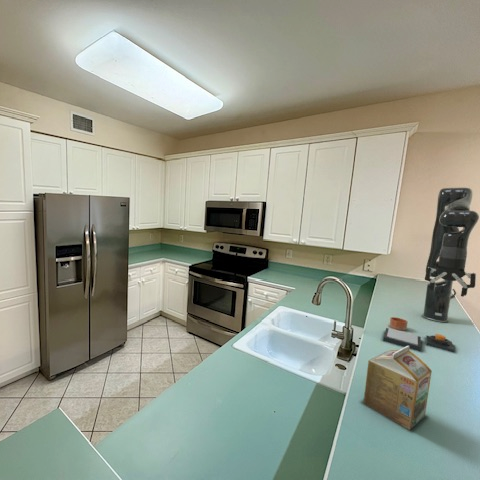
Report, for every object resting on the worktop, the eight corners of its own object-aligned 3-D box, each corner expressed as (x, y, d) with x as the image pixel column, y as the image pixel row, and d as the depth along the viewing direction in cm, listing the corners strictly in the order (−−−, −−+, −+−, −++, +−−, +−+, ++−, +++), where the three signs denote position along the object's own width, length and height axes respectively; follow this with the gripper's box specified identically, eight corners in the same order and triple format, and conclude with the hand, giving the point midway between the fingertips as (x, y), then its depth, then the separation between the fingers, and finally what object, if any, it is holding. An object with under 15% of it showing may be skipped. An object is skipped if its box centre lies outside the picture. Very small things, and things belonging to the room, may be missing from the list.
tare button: (434, 337, 115) (435, 333, 114) (444, 339, 112) (445, 335, 112) (435, 339, 113) (435, 335, 112) (445, 341, 110) (445, 338, 110)
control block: (426, 338, 119) (426, 332, 119) (451, 344, 113) (452, 338, 113) (426, 345, 112) (427, 339, 112) (453, 352, 106) (454, 346, 106)
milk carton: (409, 430, 67) (419, 364, 65) (363, 403, 76) (370, 344, 74) (424, 416, 72) (434, 354, 70) (379, 392, 81) (386, 337, 79)
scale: (385, 331, 125) (386, 326, 125) (420, 340, 116) (420, 335, 116) (383, 341, 115) (383, 335, 115) (420, 351, 107) (421, 346, 106)
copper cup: (389, 324, 134) (390, 316, 133) (406, 328, 129) (407, 320, 128) (388, 328, 129) (390, 319, 129) (406, 332, 125) (407, 323, 124)
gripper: (480, 259, 103) (473, 296, 105) (430, 253, 115) (425, 287, 117) (478, 260, 99) (472, 299, 101) (426, 255, 111) (421, 290, 112)
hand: (447, 293), depth 109 cm, fingers open, 8 cm apart
